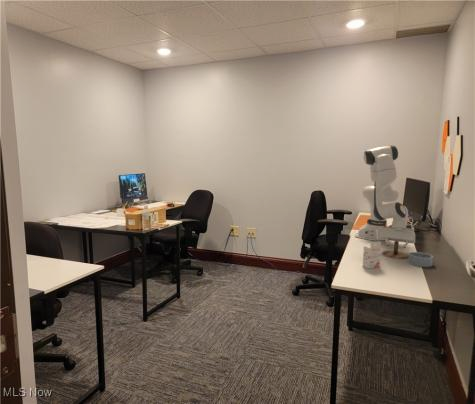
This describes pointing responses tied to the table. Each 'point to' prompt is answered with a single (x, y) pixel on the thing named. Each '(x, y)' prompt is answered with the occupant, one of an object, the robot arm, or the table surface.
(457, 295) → the table surface
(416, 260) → the bowl
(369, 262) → the ink cartridge box
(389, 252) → the lid
